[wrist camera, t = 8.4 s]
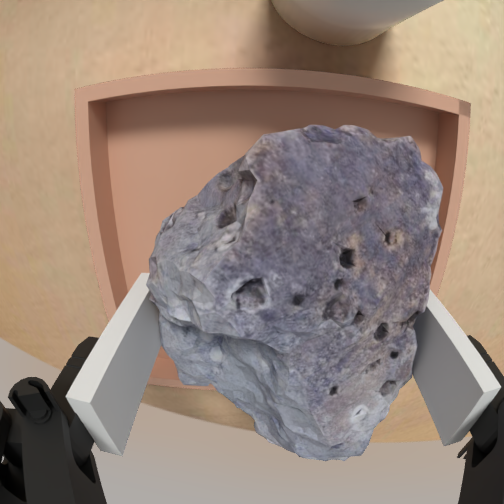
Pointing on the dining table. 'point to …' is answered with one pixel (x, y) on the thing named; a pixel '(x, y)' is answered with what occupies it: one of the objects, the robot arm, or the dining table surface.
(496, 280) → the dining table surface
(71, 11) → the dining table surface
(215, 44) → the dining table surface
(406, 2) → the white rounded cylinder
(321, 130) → the rock
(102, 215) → the dish
